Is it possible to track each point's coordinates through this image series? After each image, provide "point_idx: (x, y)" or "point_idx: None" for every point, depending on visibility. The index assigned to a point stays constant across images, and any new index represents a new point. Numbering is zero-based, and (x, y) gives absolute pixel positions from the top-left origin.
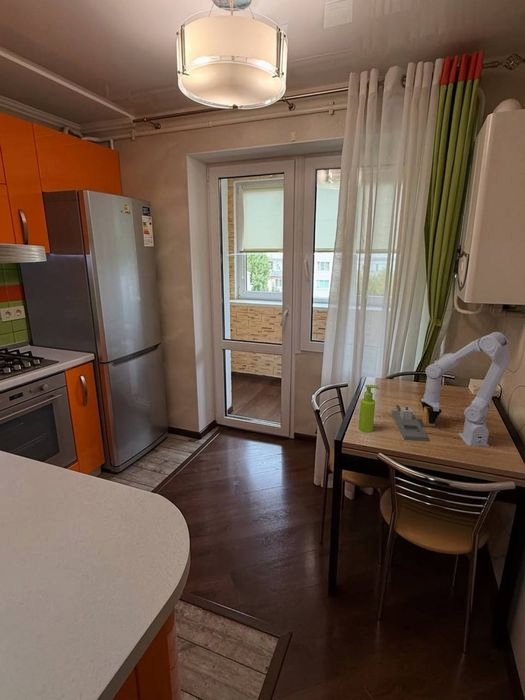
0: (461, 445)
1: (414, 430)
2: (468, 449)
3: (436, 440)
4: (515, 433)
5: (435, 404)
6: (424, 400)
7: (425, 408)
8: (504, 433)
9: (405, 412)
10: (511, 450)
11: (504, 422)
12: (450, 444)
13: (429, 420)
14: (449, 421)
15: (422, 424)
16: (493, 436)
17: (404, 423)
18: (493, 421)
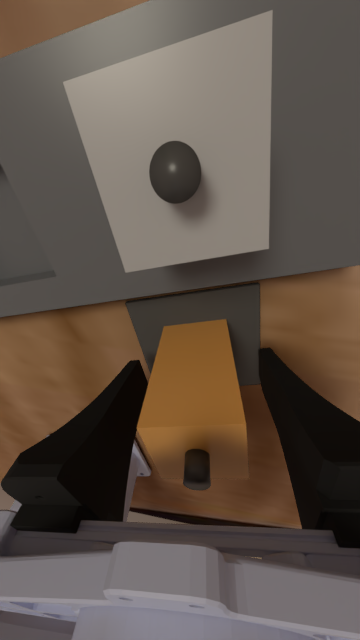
0: (37, 419)
1: (42, 251)
2: (21, 429)
3: (14, 351)
4: (200, 523)
5: (36, 611)
6: (121, 603)
7: (189, 426)
8: (192, 510)
9: (94, 151)
10: None
11: (270, 527)
12: (17, 392)
13: (116, 377)
14: (255, 429)
15: (170, 313)
16: (160, 491)
17: (34, 157)
18: (274, 515)
